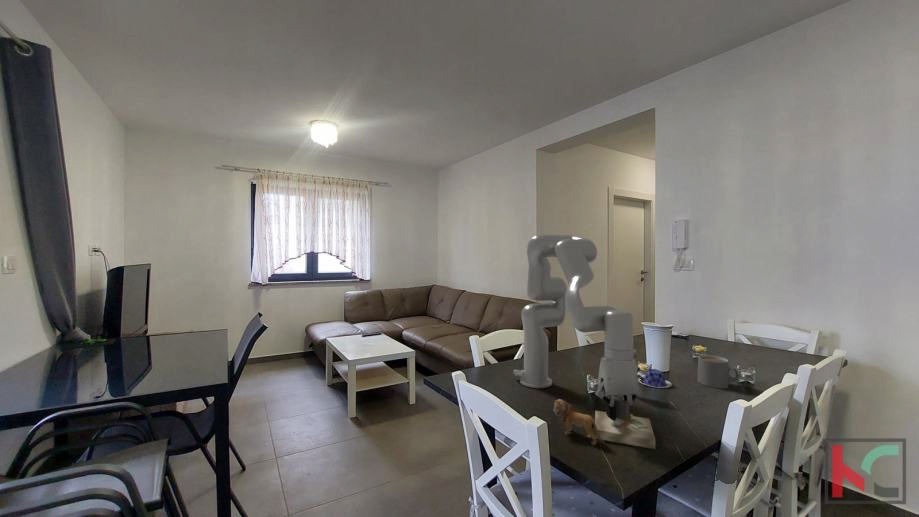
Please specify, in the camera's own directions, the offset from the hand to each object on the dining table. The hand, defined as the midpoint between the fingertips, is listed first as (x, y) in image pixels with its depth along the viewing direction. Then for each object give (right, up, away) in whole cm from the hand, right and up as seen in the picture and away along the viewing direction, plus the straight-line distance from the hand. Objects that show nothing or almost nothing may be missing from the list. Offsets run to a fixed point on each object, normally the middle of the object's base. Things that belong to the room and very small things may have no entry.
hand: (618, 417), depth 103 cm
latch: (+2, -2, +2) cm, 4 cm away
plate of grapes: (+32, -5, +41) cm, 52 cm away
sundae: (+17, -5, +29) cm, 33 cm away
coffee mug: (+56, -5, +39) cm, 69 cm away
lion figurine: (-12, -5, -1) cm, 13 cm away
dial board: (+2, -5, +1) cm, 5 cm away
